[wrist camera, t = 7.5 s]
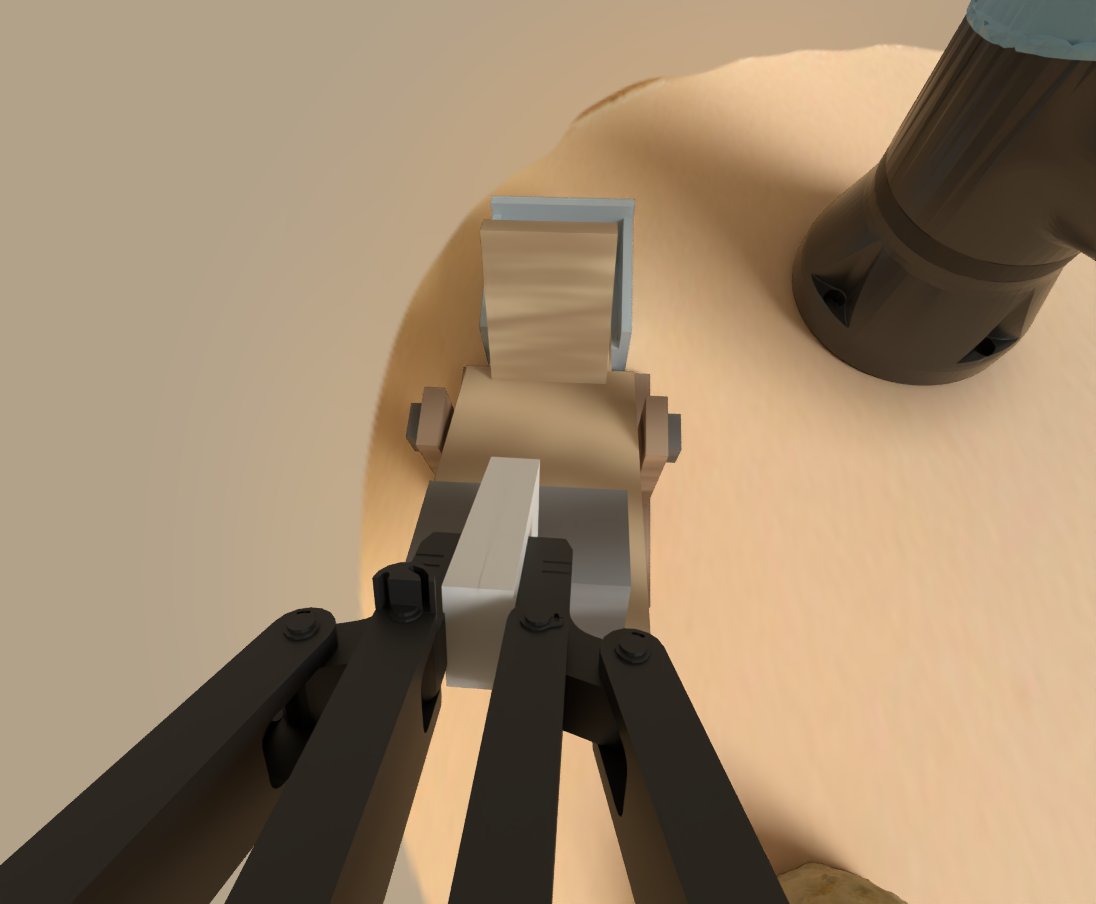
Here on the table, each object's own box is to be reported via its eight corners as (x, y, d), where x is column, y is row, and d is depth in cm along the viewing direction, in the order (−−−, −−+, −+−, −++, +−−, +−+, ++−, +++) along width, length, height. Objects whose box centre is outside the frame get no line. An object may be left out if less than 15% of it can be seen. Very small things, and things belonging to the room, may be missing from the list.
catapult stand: (653, 608, 35) (686, 579, 25) (432, 596, 36) (381, 562, 26) (652, 379, 40) (680, 282, 31) (461, 372, 41) (427, 274, 31)
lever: (648, 678, 21) (690, 499, 15) (392, 662, 21) (327, 481, 15) (628, 336, 37) (645, 180, 31) (483, 331, 37) (470, 177, 31)
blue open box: (624, 372, 41) (633, 322, 35) (489, 367, 41) (476, 317, 36) (626, 260, 44) (634, 199, 38) (501, 257, 44) (491, 195, 39)
